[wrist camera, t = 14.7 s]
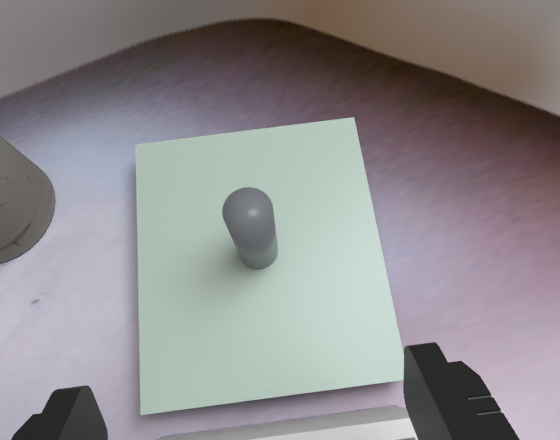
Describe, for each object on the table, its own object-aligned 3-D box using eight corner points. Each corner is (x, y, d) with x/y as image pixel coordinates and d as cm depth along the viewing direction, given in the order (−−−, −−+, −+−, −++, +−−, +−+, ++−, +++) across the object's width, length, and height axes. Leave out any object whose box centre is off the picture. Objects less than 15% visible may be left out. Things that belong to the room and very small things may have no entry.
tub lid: (349, 136, 33) (370, 45, 24) (398, 379, 27) (451, 380, 18) (146, 161, 32) (91, 79, 24) (153, 411, 27) (84, 429, 18)
